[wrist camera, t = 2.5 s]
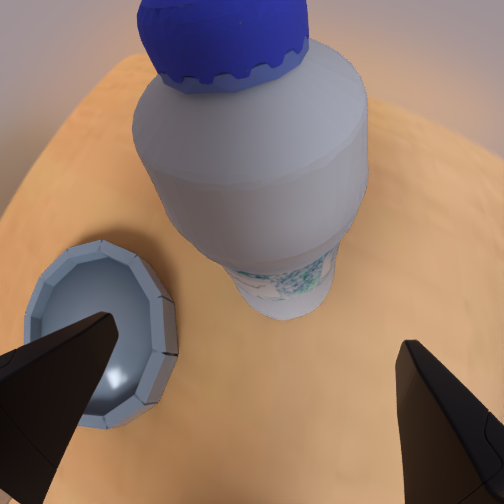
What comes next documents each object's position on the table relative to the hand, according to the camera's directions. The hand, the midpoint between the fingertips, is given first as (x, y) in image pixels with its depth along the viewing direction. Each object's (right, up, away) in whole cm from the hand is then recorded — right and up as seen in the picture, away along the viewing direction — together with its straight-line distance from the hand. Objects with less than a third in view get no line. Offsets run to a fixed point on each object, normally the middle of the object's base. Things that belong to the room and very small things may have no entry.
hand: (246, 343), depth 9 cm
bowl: (-13, -4, +14) cm, 19 cm away
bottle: (+3, 0, +14) cm, 14 cm away
